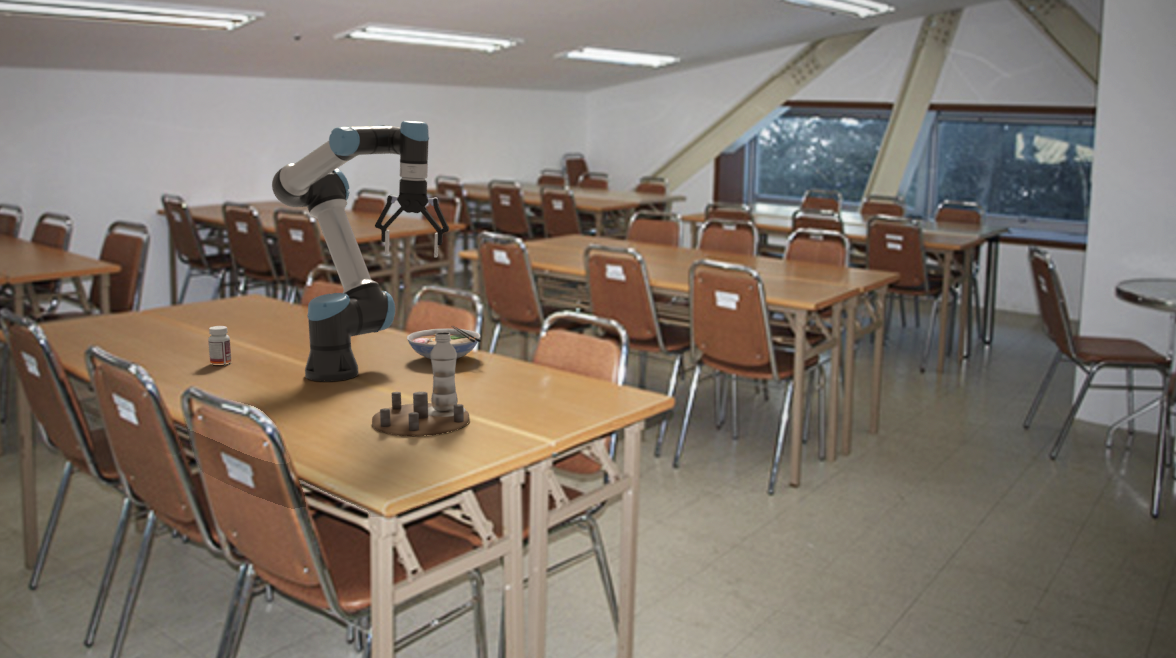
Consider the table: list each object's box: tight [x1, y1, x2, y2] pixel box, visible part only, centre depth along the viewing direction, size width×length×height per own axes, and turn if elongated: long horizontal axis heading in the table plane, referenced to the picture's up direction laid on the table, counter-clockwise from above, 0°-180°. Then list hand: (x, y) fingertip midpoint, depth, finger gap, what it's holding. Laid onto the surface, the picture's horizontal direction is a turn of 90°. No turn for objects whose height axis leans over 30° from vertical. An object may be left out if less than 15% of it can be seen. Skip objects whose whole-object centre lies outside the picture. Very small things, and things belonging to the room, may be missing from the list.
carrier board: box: [371, 391, 470, 437], centre depth 255 cm, size 24×24×7 cm
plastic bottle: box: [430, 332, 458, 411], centre depth 259 cm, size 6×7×20 cm
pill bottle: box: [207, 325, 232, 364], centre depth 310 cm, size 6×6×11 cm
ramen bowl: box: [406, 325, 482, 360], centre depth 317 cm, size 25×23×8 cm
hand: (411, 255), depth 285 cm, fingers open, 13 cm apart
